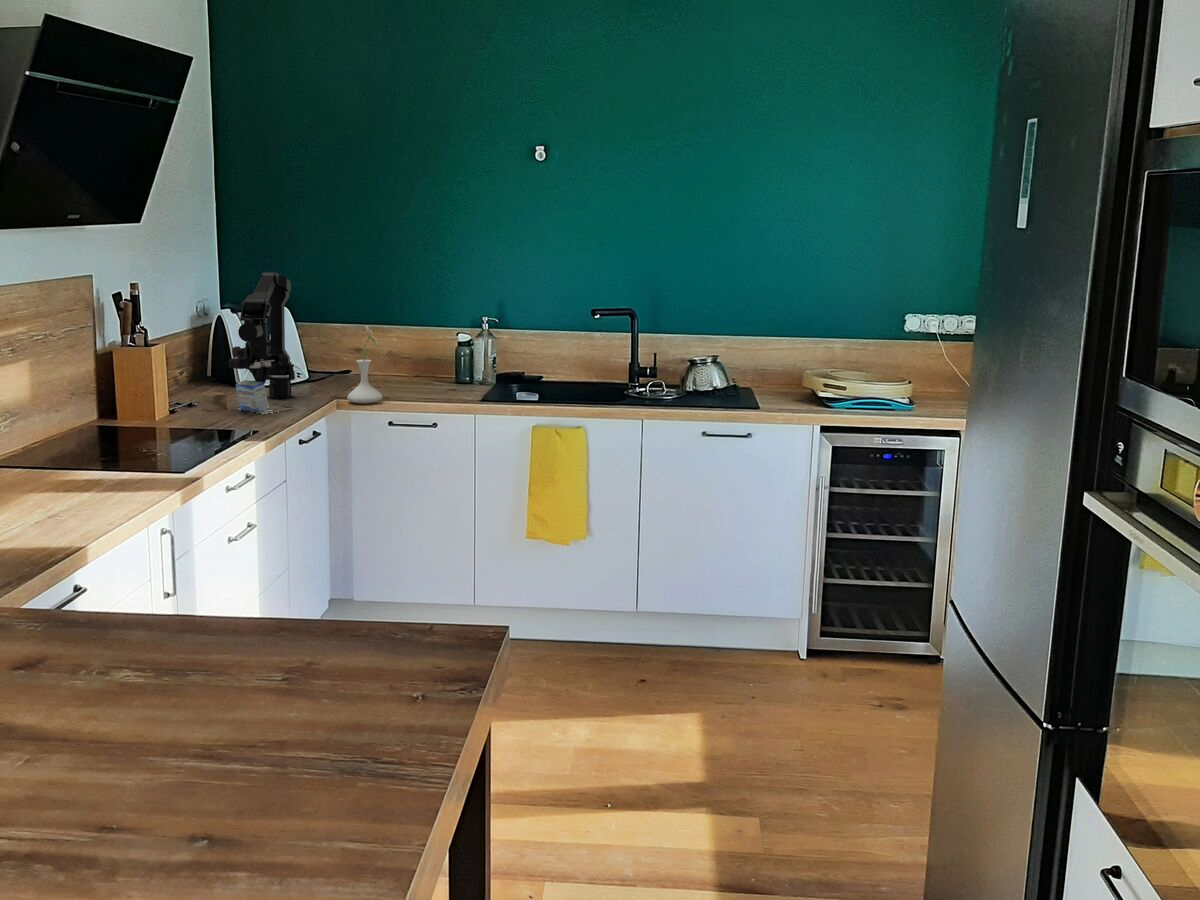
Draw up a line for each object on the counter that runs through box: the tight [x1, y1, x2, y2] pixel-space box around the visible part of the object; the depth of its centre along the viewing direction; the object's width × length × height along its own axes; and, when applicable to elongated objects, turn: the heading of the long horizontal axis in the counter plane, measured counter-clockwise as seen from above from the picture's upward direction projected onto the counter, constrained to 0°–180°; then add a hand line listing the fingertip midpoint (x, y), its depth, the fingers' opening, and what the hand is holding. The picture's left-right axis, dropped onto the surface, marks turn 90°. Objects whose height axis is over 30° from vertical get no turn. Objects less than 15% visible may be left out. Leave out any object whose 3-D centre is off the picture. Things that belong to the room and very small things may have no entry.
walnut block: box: [202, 391, 228, 412], centre depth 365 cm, size 5×5×5 cm
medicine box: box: [235, 379, 269, 413], centre depth 361 cm, size 8×4×9 cm, turn 62°
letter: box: [237, 407, 280, 415], centre depth 366 cm, size 12×14×1 cm
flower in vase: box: [346, 324, 383, 404], centre depth 378 cm, size 13×11×25 cm
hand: (260, 389), depth 363 cm, fingers closed
